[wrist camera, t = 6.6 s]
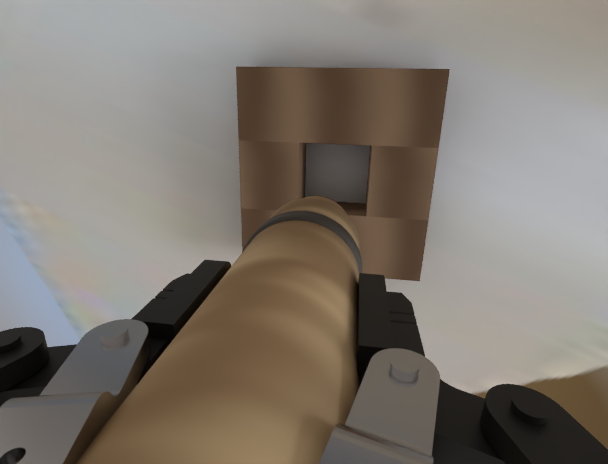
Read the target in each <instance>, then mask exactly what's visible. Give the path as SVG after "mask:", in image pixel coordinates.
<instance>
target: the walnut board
mask: <svg viewBox="0 0 608 464" xmlns="http://www.w3.org/2000/svg"><path fill="white" fill-rule="evenodd" d="M449 70H450V69H385V68H304V67H236V73H237V102H238V131H239V159H240V188H241V217H242V246H243V249H244V247H245V245H246V243H247V242H248V241H249V239H250V238H251V237H252V235H253V234H254V233H255V232H256V230H257V229H258V228H259V227H260V226H261V225H262V224H263V223H265V222H266V221H267V220H269V219H270V217H271V216H272V215H273V214H274V213H275V212H276V211H277V210H278V209H279V208H280V207H282V206H283V205H285V204H286V203H288V202H291V201H293V200H297V199H302V198H305V173H306V143H321V144H347V145H370V157H369V169H368V182H367V194H366V204H364V203H347V202H336V203H337V204H339V205H340V206H341V207H342V208H343V209H344V211H345V212H346V214H347V215H348V216H349V217H350V219H351V220H352V222H353V223H354V225H355V227H356V229H357V232H358V236H359V242H360V250H359V251H360V255H361V259H362V273H366V274H378V275H384V278H388V279H400V280H412V281H420V275H421V267H422V260H423V253H424V246H425V239H426V232H427V225H428V218H429V211H430V204H431V197H432V190H433V183H434V176H435V169H436V162H437V155H438V148H439V141H440V133H441V126H442V119H443V112H444V105H445V98H446V91H447V84H448V77H449Z"/></svg>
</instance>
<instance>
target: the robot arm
mask: <svg viewBox="0 0 608 464" xmlns="http://www.w3.org/2000/svg"><path fill="white" fill-rule="evenodd" d="M230 268H231V264H230V262H226V261H214V260H204V261H203V262H202V263H201V264H200V265H199V266H198V267H197V268H196V269H195V270H194V271H193V272H192V273H191V274H185V275H183V276H181V277H179V278H177V279H175V280H173V281H171V282H170V283H169V284H168V285H167V286H166V287H165V288H164V289H163V291H161V292H160V293H159V294H158V295H157V296H155V299H152V300H151V301H150V302H149V303H148V304H147V305H146V306H145V307H144V308H143V309H142V310H141V311H140V312H138V313H137V314H136V315H135V316H134V317H133V318H132V319H123V320H115V321H111V322H108V323H105V324H102V325H100V326H97V327H95V328H94V329H92V330H90V331H89V332H88V333H86V334H85V335H84V336H83V338H82V339H81V340H80V342H79V343H78V344H77V345H67V346H57V347H47V344H46V340H45V336H44V333H43V331H41V330H40V329H37V328H32V327H24V328H23V327H21V328H14V329H9V330H5V331H2V332H0V464H76V463H77V462H78V461H79V459H80V458H81V457H82V455H83V454H84V452H85V451H86V450H87V448H88V447H89V446H90V444H91V443H92V442H93V440H94V439H95V437H96V436H97V435H98V433H99V432H100V431H101V430H102V428H103V427H104V426H105V425H106V423H107V422H108V421H109V420H110V418H111V417H112V416H113V415H114V413H115V412H116V411H117V410H118V408H119V407H120V406H121V405H122V403H123V402H124V401H125V399H126V398H127V397H128V396H129V394H130V393H131V392H132V391H133V389H134V388H135V387H136V386H137V384H138V383H139V382H140V381H141V379H142V378H143V377H144V376H145V374H146V373H147V372H148V371H149V369H150V368H151V367H152V366H153V364H154V363H155V362H156V361H157V359H158V358H159V357H160V356H161V354H162V353H163V352H164V351H165V349H166V348H167V347H168V346H169V344H170V343H171V342H172V340H173V339H174V338H175V337H176V335H177V334H178V333H179V332H180V330H181V329H182V328H183V327H184V325H185V324H186V323H187V322H188V320H189V319H190V318H191V317H192V315H193V314H194V313H195V312H196V310H197V309H198V308H199V307H200V305H201V304H202V303H203V302H204V300H205V299H206V298H207V297H208V295H209V294H210V293H211V292H212V290H213V289H214V288H215V287H216V285H217V284H218V283H219V282H220V280H221V279H222V278H223V276H224V275H225V274H226V273H227V271H228V270H229V269H230ZM357 373H358V393H357V395H356V398H355V400H354V403H353V405H352V408H351V410H350V413H349V416H348V418H347V421H346V423H345V425H344V424H341V423H338V424H337V425H336V426H335V428H334V430H333V432H332V434H331V436H330V439H329V441H328V443H327V446H326V448H325V450H324V453H323V455H322V457H321V460H320V462H319V464H608V450H607V449H606V448H605V447H604V446H603V445H602V444H601V443H600V442H599V441H598V440H597V439H596V438H595V437H594V436H592V435H591V434H590V433H589V432H588V431H587V430H586V429H585V428H584V427H583V426H582V425H581V424H579V423H578V422H577V421H576V420H575V419H574V418H573V417H572V416H571V415H570V414H569V413H568V412H567V411H565V410H564V409H563V408H562V407H561V406H560V405H559V404H557V403H556V402H555V401H553V400H552V399H551V398H549V397H547V396H545V395H544V394H542V393H540V392H537V391H535V390H533V389H530V388H527V387H524V386H520V385H514V384H501V385H497V386H494V387H492V388H491V389H490V390H489V391H488V392H487V394H486V398H485V399H484V398H481V397H478V396H476V395H473V394H470V393H467V392H464V391H461V390H459V389H456V388H454V387H452V386H450V385H448V384H447V383H445V382H443V381H442V380H441V379H440V374H439V371H438V370H437V368H436V366H435V365H434V364H433V363H432V362H431V361H430V360H429V359H427V358H426V357H425V354H424V350H423V346H422V342H421V338H420V334H419V331H418V327H417V325H416V319H415V316H414V311H413V307H412V303H411V302H410V301H409V300H408V299H407V298H406V297H405V296H404V295H403V294H402V293H396V292H386V285H385V278H384V275H378V274H366V273H359V280H358V326H357Z"/></svg>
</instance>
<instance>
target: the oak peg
mask: <svg viewBox="0 0 608 464" xmlns="http://www.w3.org/2000/svg"><path fill="white" fill-rule="evenodd" d="M359 250H360V242H359V236H358V232H357V229H356V227H355V225H354V223H353V222H352V220H351V219H350V217H349V216H348V215H347V214H346V212H345V211H344V209H343V208H342V207H341V206H340V205H339V204H337V203H336V202H335V201H333V200H331V199H328V198H325V197H321V196H310V197H305V198H302V199H297V200H293V201H291V202H288V203H286V204H285V205H283V206H282V207H280V208H279V209H278V210H277V211H276V212H275V213H274V214H273V215H272V216H271V217H270V219H269V220H267V221H266V222H265V223H263V224H262V225H261V226H260V227H259V228H258V229H257V230H256V232H255V233H254V234H253V235H252V237H251V238H250V239H249V241H248V242H247V243H246V245H245V247H244V249H243V251H242V254H241V255H240V256H239V258H238V259H237V260H236V261H235V263H234V264H233V265H232V266H231V268H230V269H229V270H228V271H227V273H226V274H225V275H224V276H223V278H222V279H221V280H220V282H219V283H218V284H217V285H216V287H215V288H214V289H213V290H212V292H211V293H210V294H209V295H208V297H207V298H206V299H205V300H204V302H203V303H202V304H201V305H200V307H199V308H198V309H197V310H196V312H195V313H194V314H193V315H192V317H191V318H190V319H189V320H188V322H187V323H186V324H185V325H184V327H183V328H182V329H181V330H180V332H179V333H178V334H177V335H176V337H175V338H174V339H173V340H172V342H171V343H170V344H169V346H168V347H167V348H166V349H165V351H164V352H163V353H162V354H161V356H160V357H159V358H158V359H157V361H156V362H155V363H154V364H153V366H152V367H151V368H150V369H149V371H148V372H147V373H146V374H145V376H144V377H143V378H142V379H141V381H140V382H139V383H138V384H137V386H136V387H135V388H134V389H133V391H132V392H131V393H130V394H129V396H128V397H127V398H126V399H125V401H124V402H123V403H122V405H121V406H120V407H119V408H118V410H117V411H116V412H115V413H114V415H113V416H112V417H111V418H110V420H109V421H108V422H107V423H106V425H105V426H104V427H103V428H102V430H101V431H100V432H99V433H98V435H97V436H96V437H95V439H94V440H93V442H92V443H91V444H90V446H89V447H88V448H87V450H86V451H85V452H84V454H83V455H82V457H81V458H80V459H79V461H78V462H77V463H76V464H319V462H320V460H321V457H322V455H323V453H324V450H325V448H326V446H327V443H328V441H329V439H330V436H331V434H332V432H333V430H334V428H335V426H336V425H337V424H338V423H341V424H344V425H345V423H346V421H347V418H348V416H349V413H350V410H351V408H352V405H353V403H354V400H355V398H356V395H357V393H358V373H357V326H358V280H359V273H362V259H361V255H360V251H359Z"/></svg>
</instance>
